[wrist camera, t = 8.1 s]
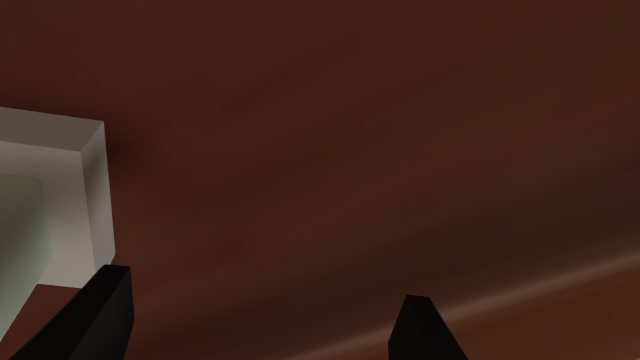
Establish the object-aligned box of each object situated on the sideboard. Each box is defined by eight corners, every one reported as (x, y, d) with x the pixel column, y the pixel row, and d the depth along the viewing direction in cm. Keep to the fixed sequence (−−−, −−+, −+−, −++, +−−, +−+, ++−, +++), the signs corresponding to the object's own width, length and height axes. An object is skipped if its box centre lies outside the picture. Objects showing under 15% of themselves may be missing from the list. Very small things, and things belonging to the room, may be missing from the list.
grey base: (117, 247, 26) (97, 289, 23) (-40, 229, 25) (-79, 271, 22) (107, 117, 21) (80, 151, 19) (-86, 89, 20) (-141, 122, 18)
